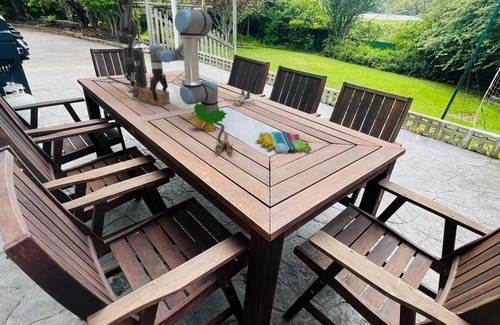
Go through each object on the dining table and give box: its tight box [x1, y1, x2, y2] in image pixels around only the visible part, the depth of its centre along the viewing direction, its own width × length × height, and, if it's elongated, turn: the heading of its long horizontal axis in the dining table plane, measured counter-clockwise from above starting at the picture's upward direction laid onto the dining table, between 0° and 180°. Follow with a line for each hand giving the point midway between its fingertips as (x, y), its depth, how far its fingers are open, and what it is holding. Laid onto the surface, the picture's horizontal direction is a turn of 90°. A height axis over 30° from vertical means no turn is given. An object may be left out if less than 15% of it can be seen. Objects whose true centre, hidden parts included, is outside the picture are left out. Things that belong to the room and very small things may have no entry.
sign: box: [256, 131, 312, 154], centre depth 152 cm, size 26×2×30 cm
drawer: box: [128, 87, 142, 99], centre depth 205 cm, size 25×9×7 cm, turn 66°
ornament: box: [191, 102, 228, 132], centre depth 162 cm, size 21×8×15 cm, turn 105°
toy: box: [223, 89, 257, 106], centre depth 219 cm, size 28×7×30 cm
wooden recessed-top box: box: [138, 86, 171, 107], centre depth 202 cm, size 20×10×9 cm, turn 66°
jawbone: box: [214, 131, 234, 156], centre depth 136 cm, size 9×15×10 cm
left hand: (133, 85), depth 206 cm, fingers closed
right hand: (160, 98), depth 200 cm, fingers closed on wooden recessed-top box, 10 cm apart
